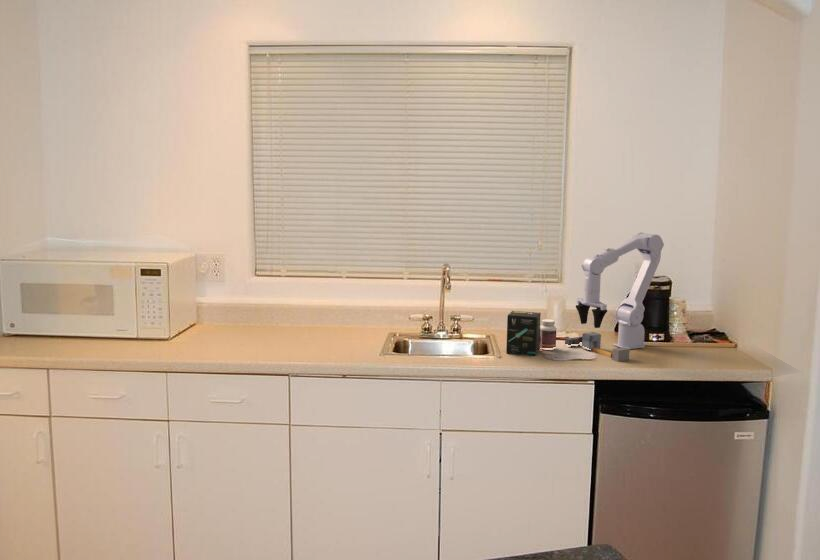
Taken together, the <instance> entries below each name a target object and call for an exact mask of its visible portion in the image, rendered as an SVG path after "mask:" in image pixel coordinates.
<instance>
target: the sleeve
mask: <svg viewBox="0 0 820 560" xmlns="http://www.w3.org/2000/svg"><path fill="white" fill-rule="evenodd" d="M581 337H582V346H584V347H587V348H589V349H591V350H590V351H592V347H595V348H598V349H601V341H602V340H601V338H602V334H600V333H597V332H593V331H592V332H585V333H582V336H581Z"/></svg>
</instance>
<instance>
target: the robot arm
mask: <svg viewBox="0 0 820 560" xmlns="http://www.w3.org/2000/svg"><path fill="white" fill-rule="evenodd" d="M664 245H665V244H664V241H663V239H662V237H661V236H660V234H652V233H651V234H650V233H644V232H638V233H637V234H634V235H632V237H631V238H630V239H628V240H626V241H624V242H623V243H622V244H620V245H618V246H617V247H615V248H612V247H606V248H604V250H603V251H601V252H599V253H595V254H594V256H593V257H591V256H588V257H587V258H585V259H584V261H582V264H581V268H582V271H583V273H584V274H583V275H584V282H583V285H584V286H583V287H584V288H583V298H581V297H579V298H576V304H575V308H576V310H577V314H578V316H579V321H580V324H581V325H586V324H587V322H588V316H589V315H588V314H589V311H590V308H593V309H591V312H592V315H593V326H594V327H593V328H594V329H599V328H601V325H602V322H603V319H604V317H605V316H606V314H607V313H608V309H607V307H608V304H605V303H604V302H601V301H600V297H601V296H600V295H601V293H600V292H601V280H602V279H601V276H602V273H603V272H604V271H605V269H606V268H608V267H609V266H611V265H613V264H615V263H616V262H618V260H619V258H620V257H621V256H623V255H626V254H628V253H629V252H630V253H631V251H634V250H637V251H638V253H640V254H641V255H642V258H643V262H642V264H641V266H640V268H639V271H638V274H637V275H636V277H635V281H634V283H633V284H632V287H631V289H630V292H629V294H628V297H626V298H625V299H622V300H621V303H620V304H619V305H618V306H617V307H616V310H615V317H616V319H617V322H618V333H617V343H612V345H613V346H615V347H616V348H622V347H624V348H627V349H630V350H633V349H640V348H642V349H643V348H646V345H645V332H646V331H645V327H644V325H643V324H642V322H643V319H644V312H645V310H646V309H645V306H644V304H643V301H644V299H645V298H646V294H647V292H648V290H649V287H650V285H651V283H652V280H653V278H654V276H655V274H656V271H657V269H658V266H659V264H660V262H661V255H662V250H663V248H664Z"/></svg>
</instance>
